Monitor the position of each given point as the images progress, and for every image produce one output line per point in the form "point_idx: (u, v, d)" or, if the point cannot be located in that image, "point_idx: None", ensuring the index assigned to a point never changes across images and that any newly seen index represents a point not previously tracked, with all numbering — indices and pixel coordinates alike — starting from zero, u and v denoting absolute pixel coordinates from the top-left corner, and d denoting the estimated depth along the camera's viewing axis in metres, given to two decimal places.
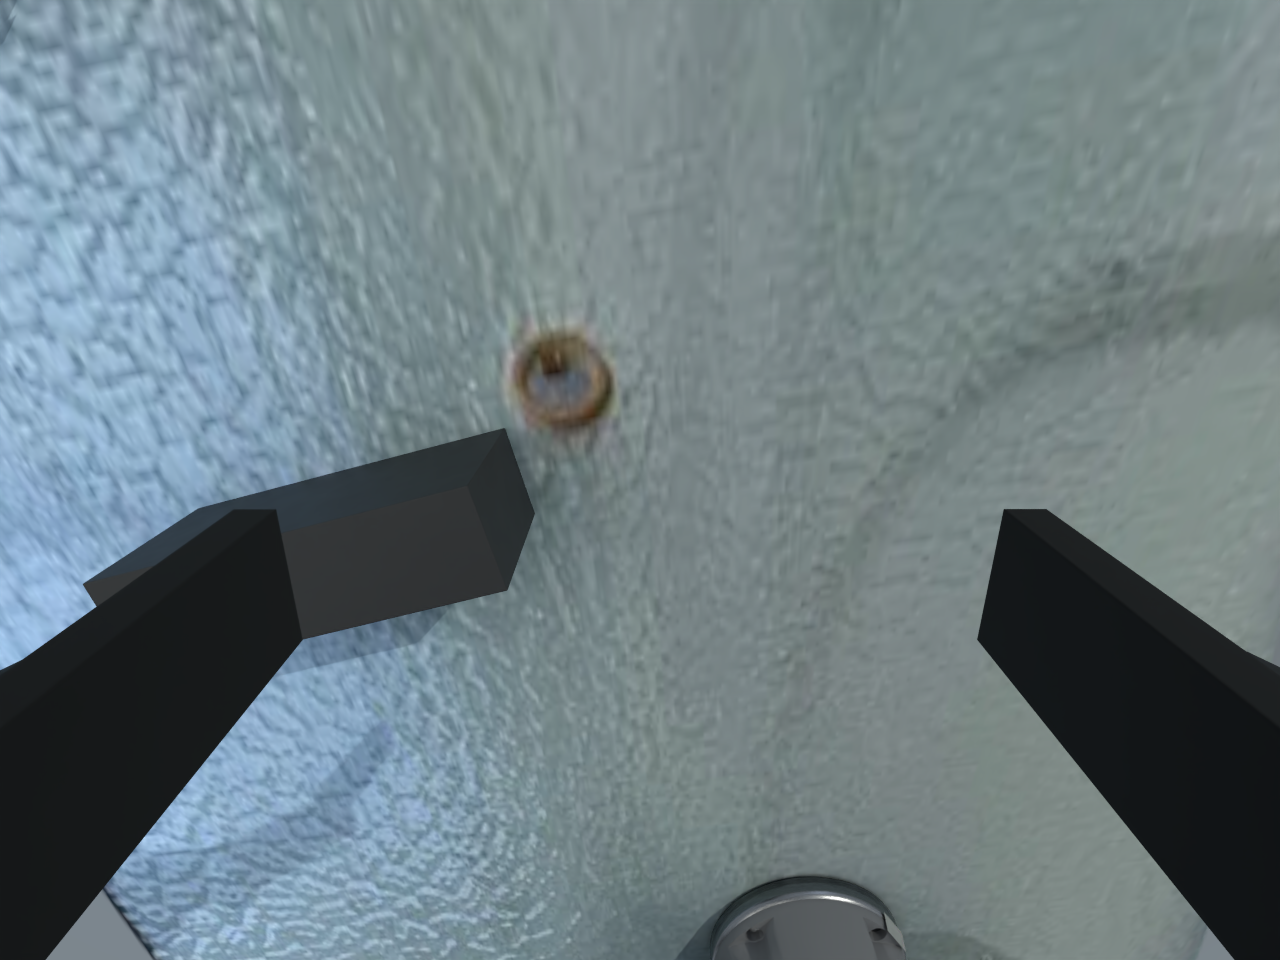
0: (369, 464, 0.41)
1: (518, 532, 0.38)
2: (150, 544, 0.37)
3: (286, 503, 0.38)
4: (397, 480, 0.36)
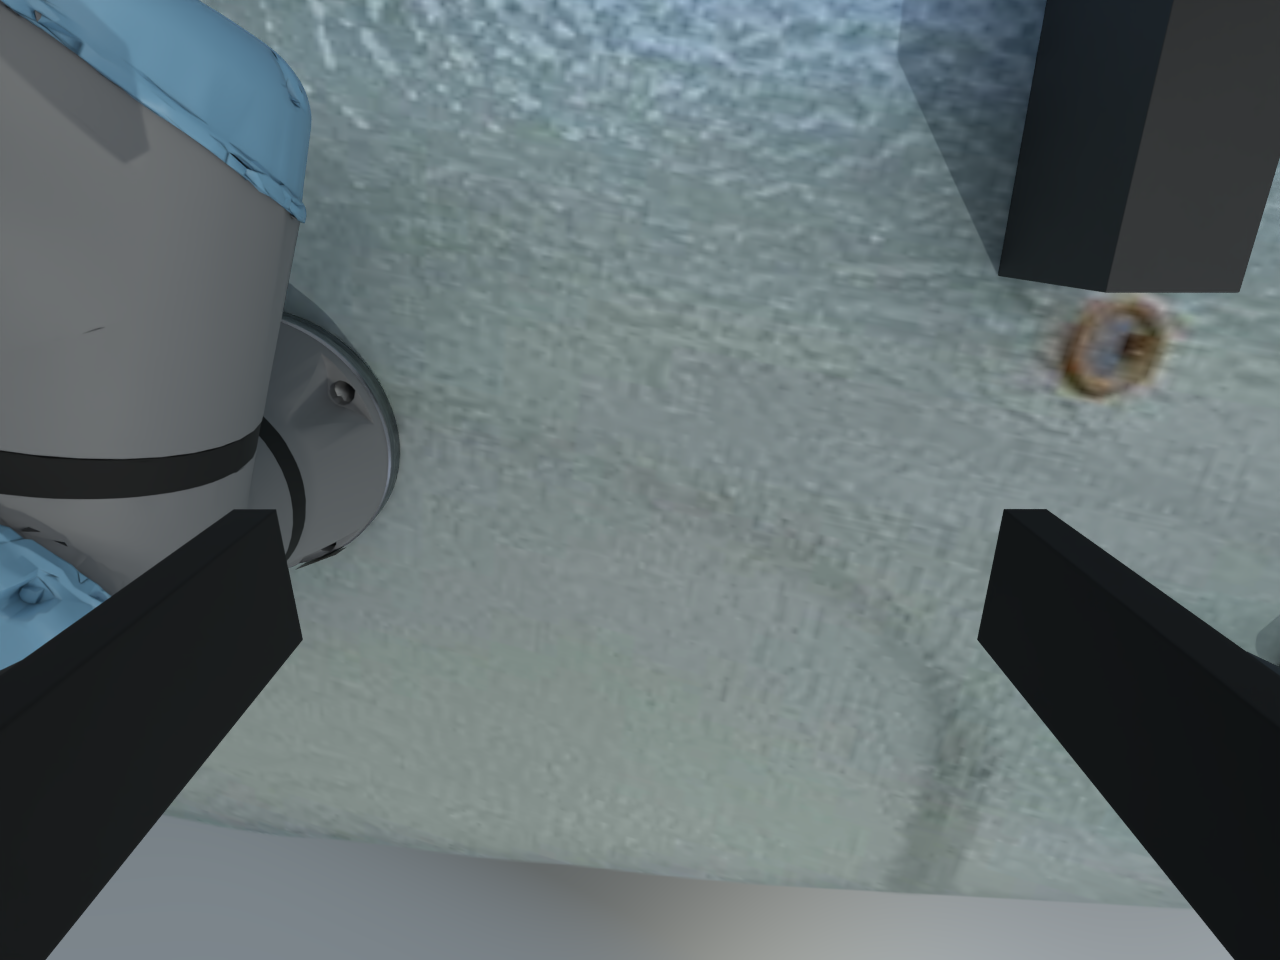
0: None
1: None
2: None
3: None
4: None
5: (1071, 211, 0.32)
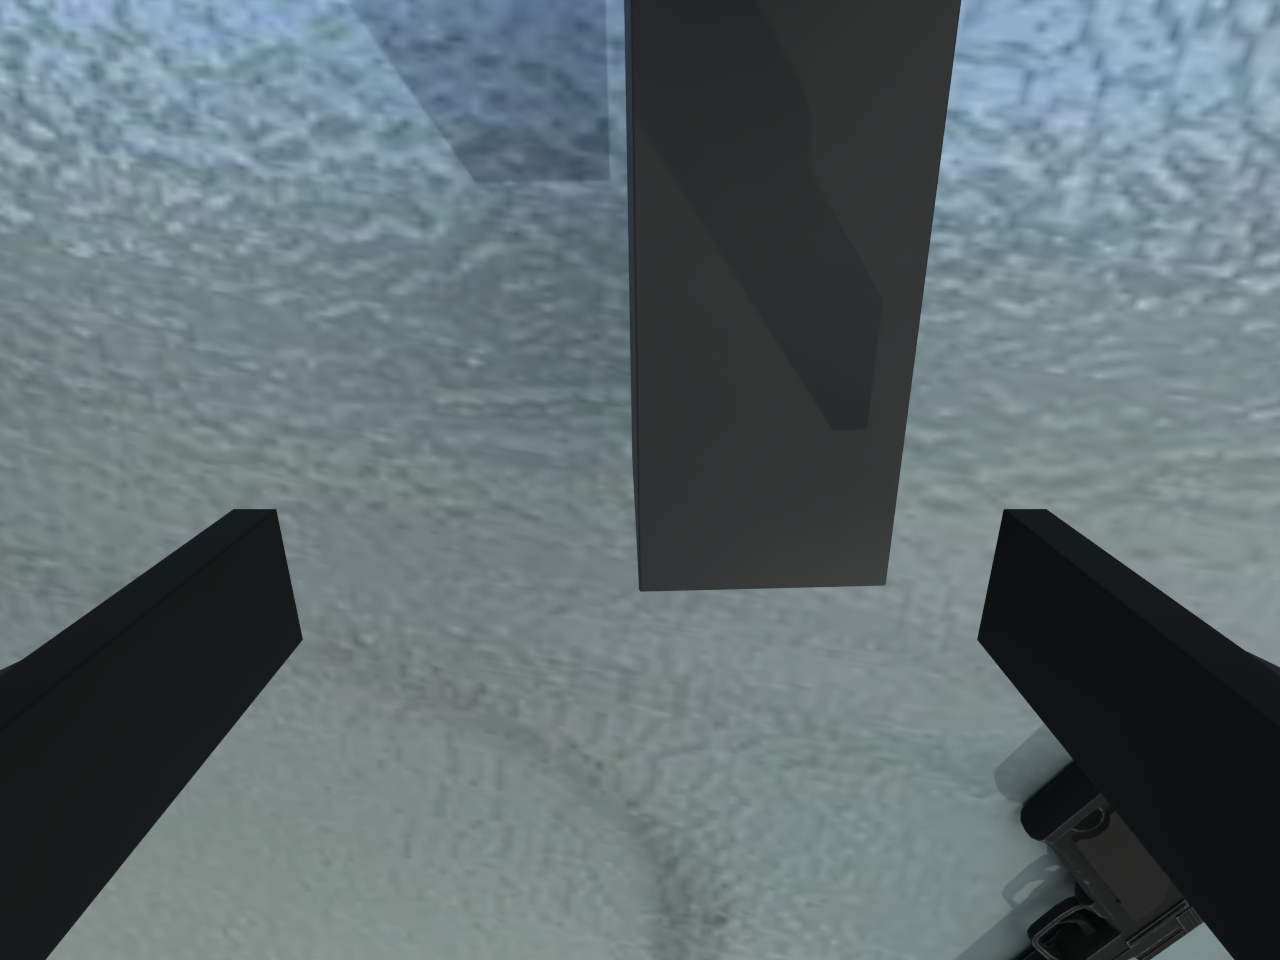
0: None
1: None
2: None
3: None
4: None
5: None
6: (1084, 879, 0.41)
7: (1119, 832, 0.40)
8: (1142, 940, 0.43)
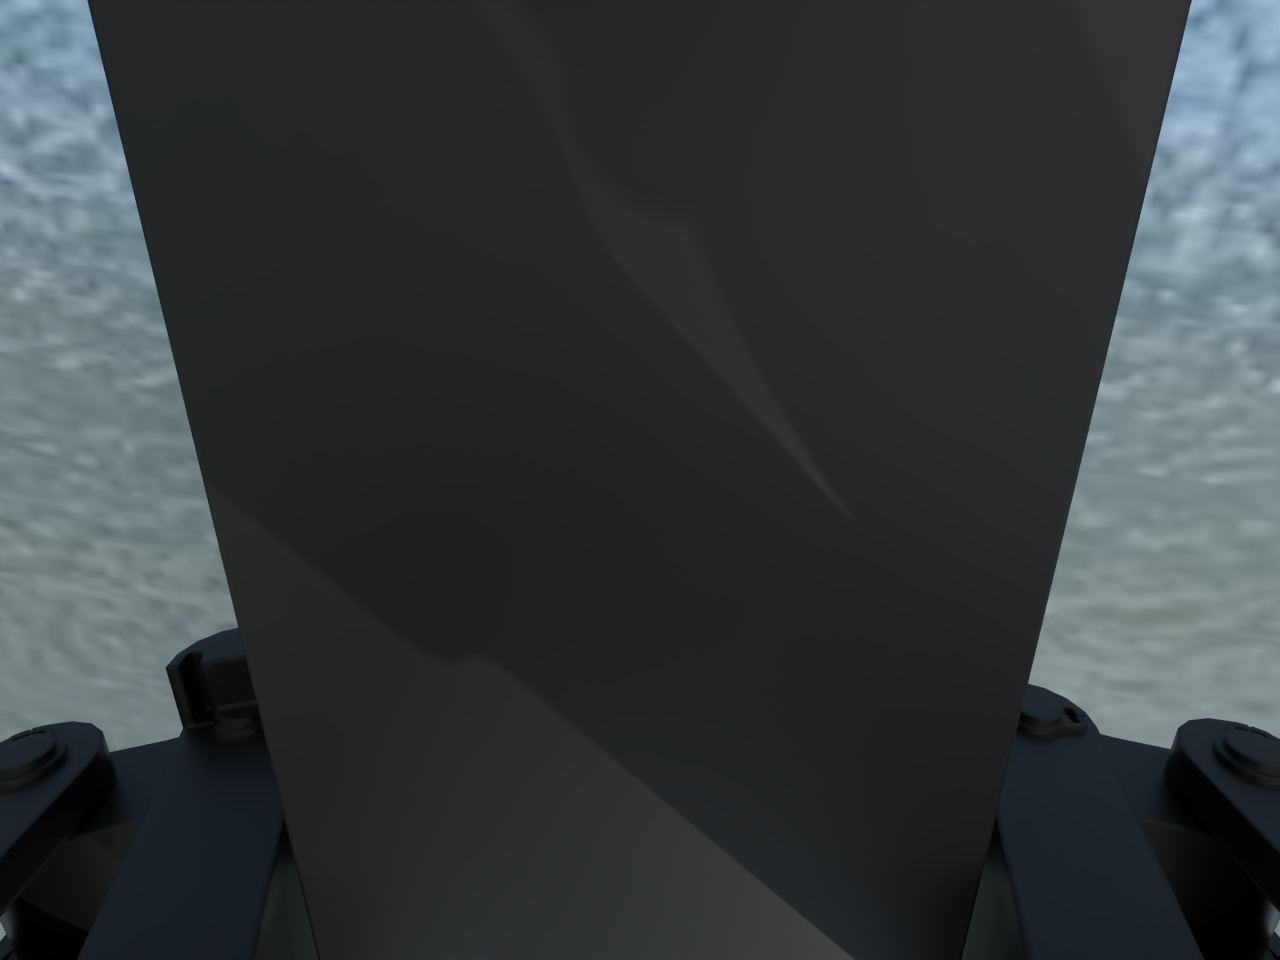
0: None
1: None
2: None
3: None
4: None
5: None
6: None
7: None
8: None
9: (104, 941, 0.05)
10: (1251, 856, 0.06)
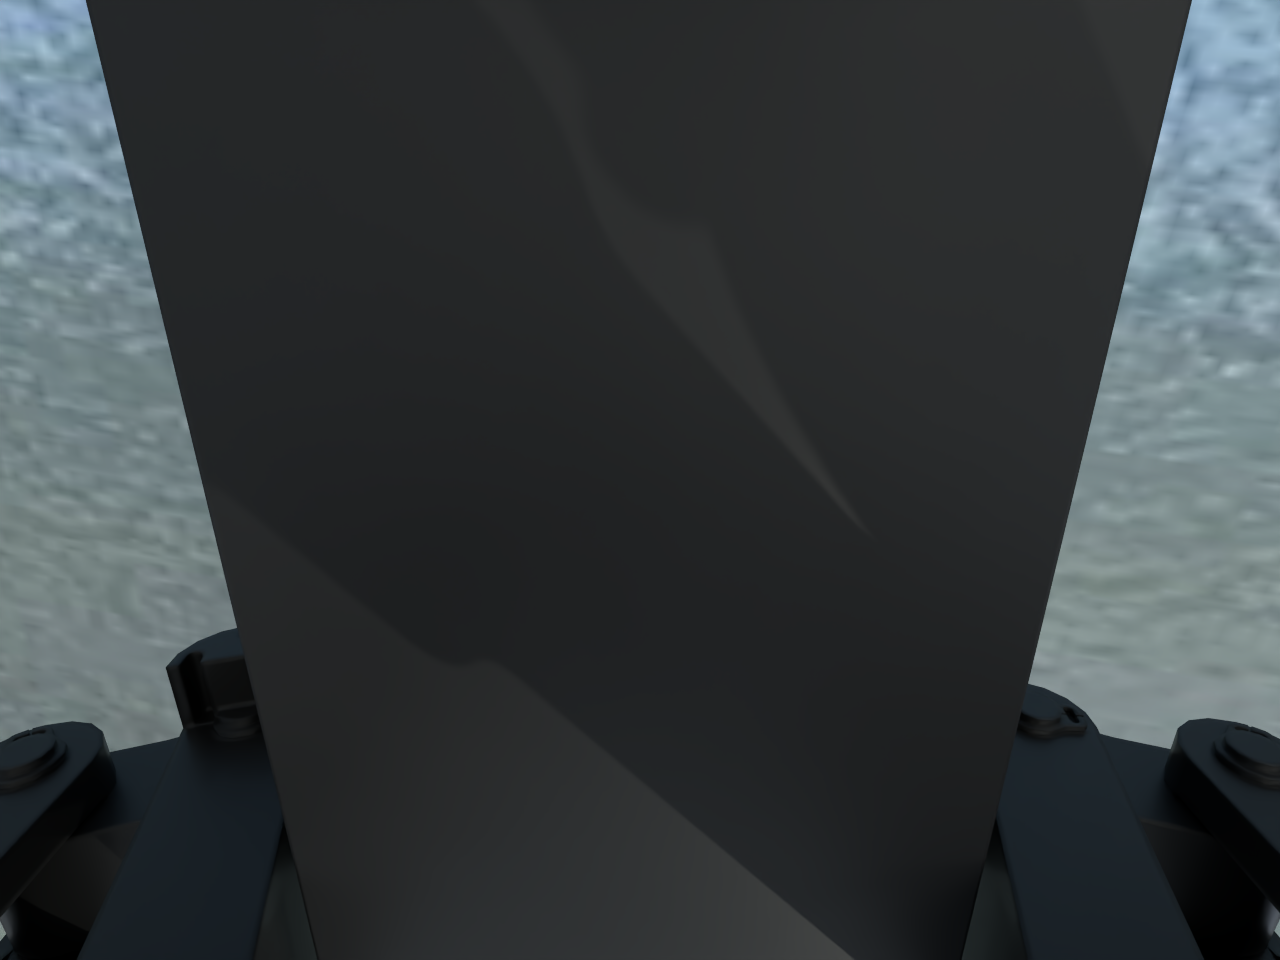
0: None
1: None
2: None
3: None
4: None
5: None
6: None
7: None
8: None
9: (105, 941, 0.05)
10: (1251, 856, 0.06)
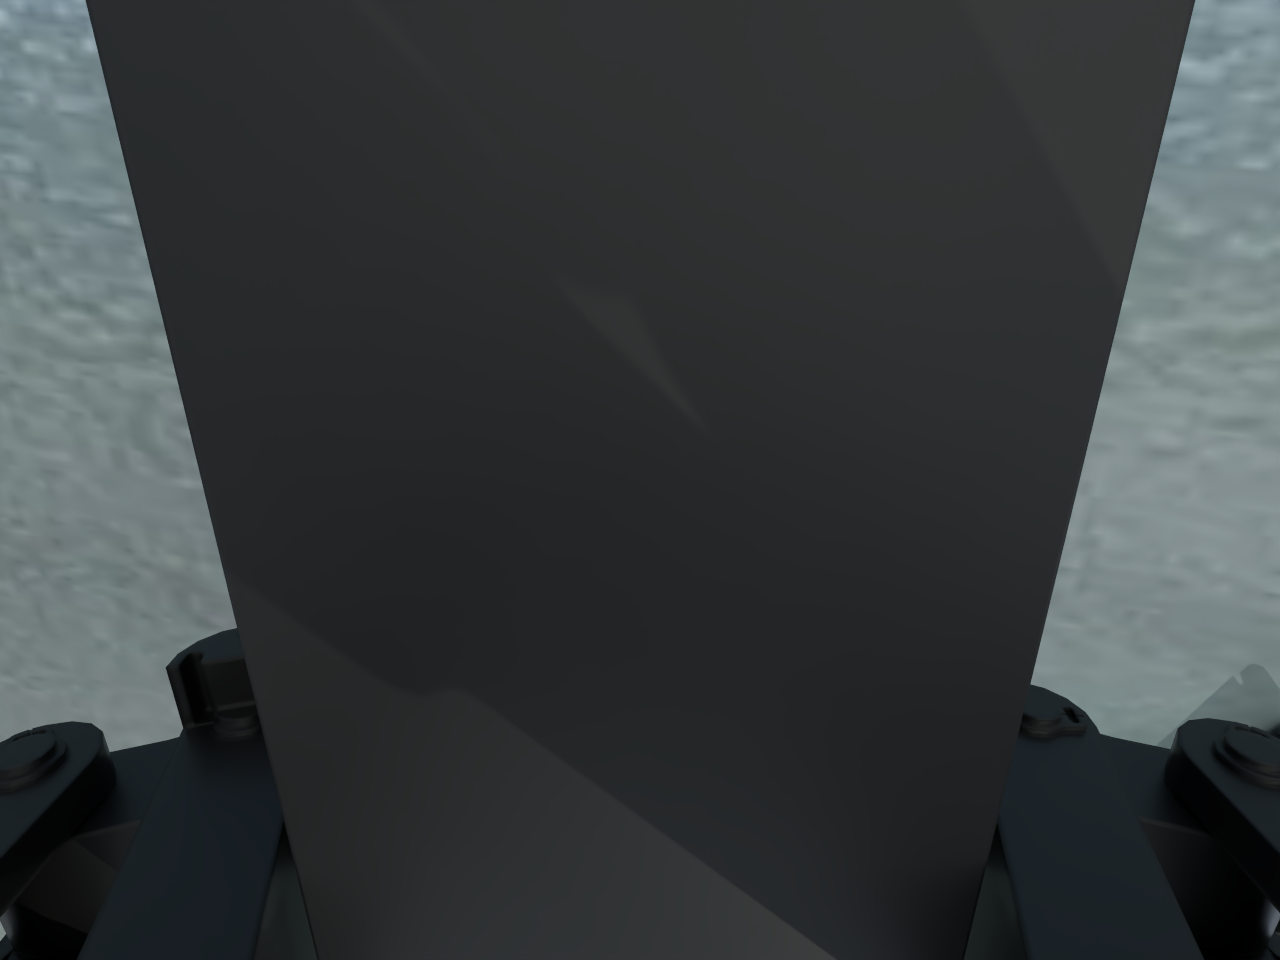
0: None
1: None
2: None
3: None
4: None
5: None
6: None
7: None
8: None
9: (104, 941, 0.05)
10: (1251, 856, 0.06)
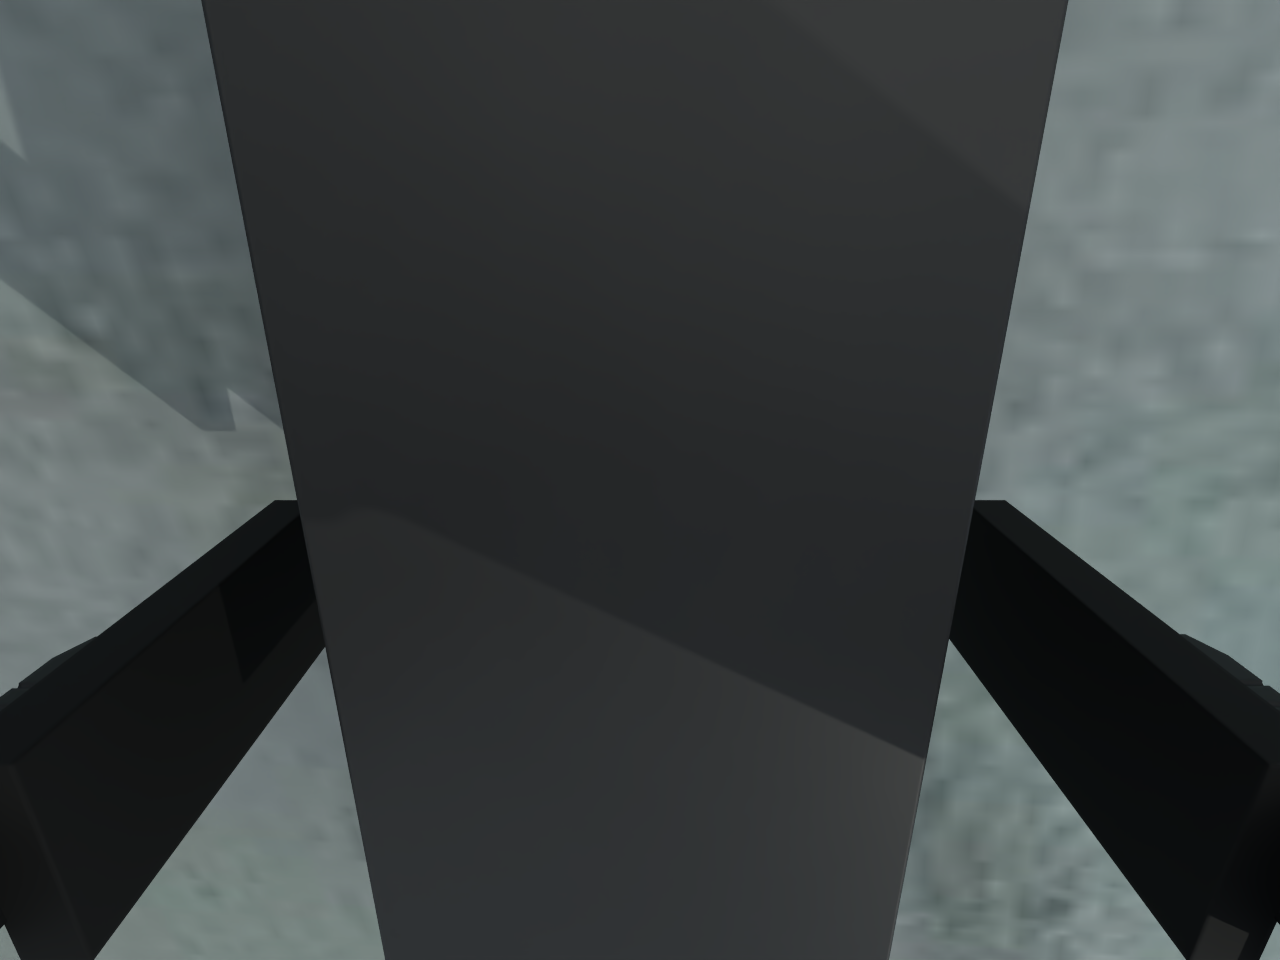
0: None
1: None
2: None
3: None
4: None
5: None
6: None
7: None
8: None
9: None
10: None
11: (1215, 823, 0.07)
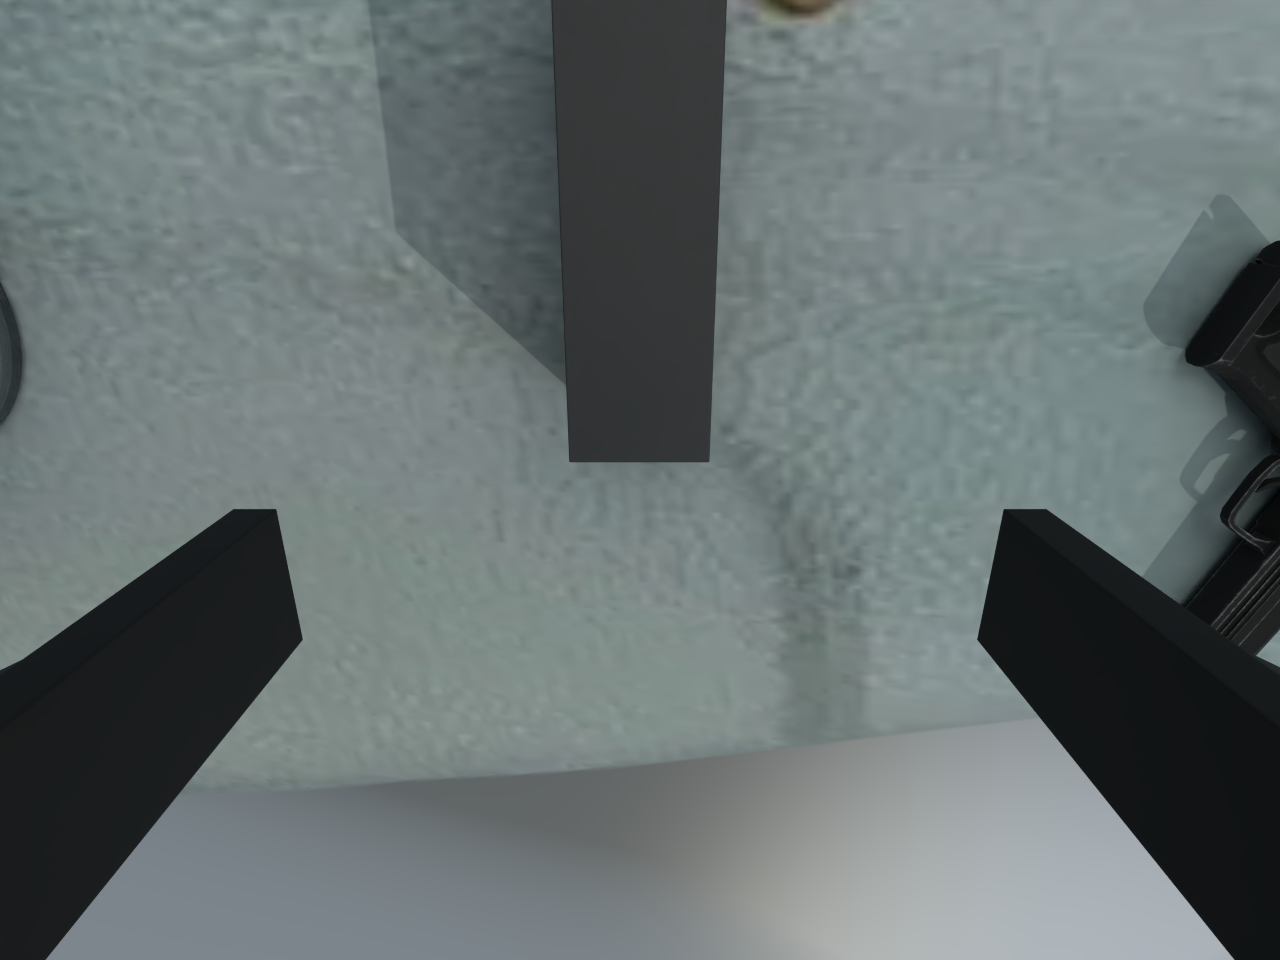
0: None
1: None
2: None
3: None
4: None
5: None
6: None
7: None
8: None
9: None
10: None
11: None
